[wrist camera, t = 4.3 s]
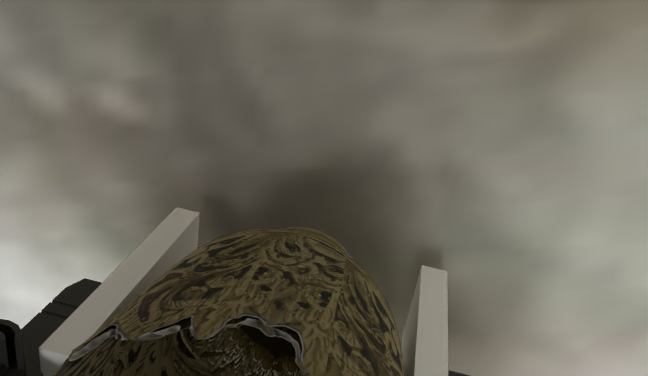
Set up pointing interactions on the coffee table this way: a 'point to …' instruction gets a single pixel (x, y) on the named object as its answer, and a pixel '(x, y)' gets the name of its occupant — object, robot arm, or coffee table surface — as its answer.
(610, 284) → the coffee table surface
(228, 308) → the ornate bell
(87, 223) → the coffee table surface
